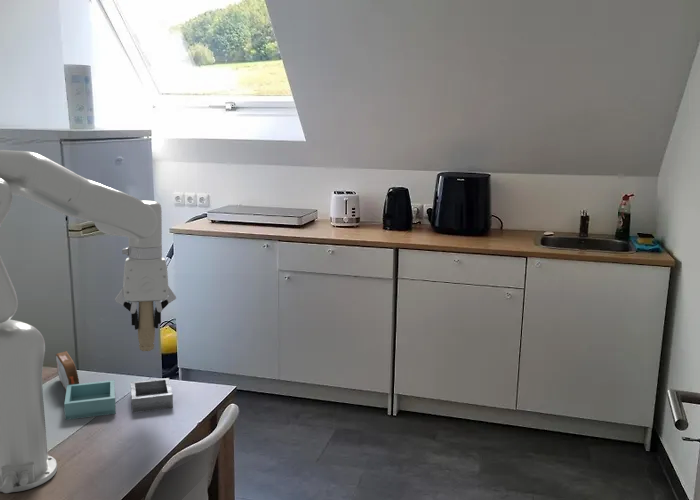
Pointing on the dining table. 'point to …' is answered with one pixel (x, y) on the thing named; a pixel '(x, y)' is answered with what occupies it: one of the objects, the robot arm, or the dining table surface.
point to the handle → (146, 326)
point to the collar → (152, 400)
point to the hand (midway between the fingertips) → (146, 326)
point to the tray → (90, 399)
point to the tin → (66, 369)
